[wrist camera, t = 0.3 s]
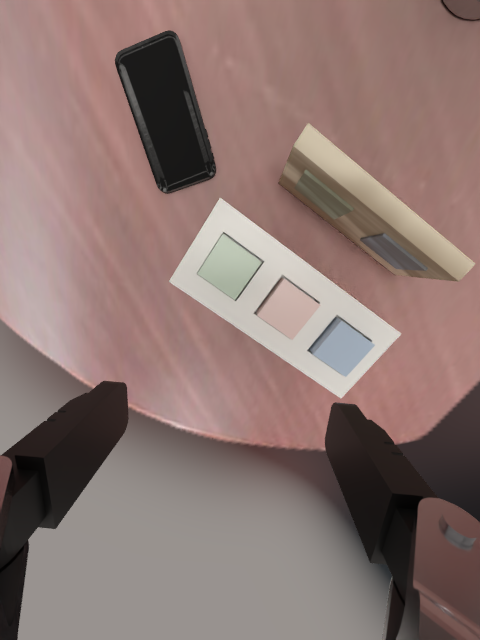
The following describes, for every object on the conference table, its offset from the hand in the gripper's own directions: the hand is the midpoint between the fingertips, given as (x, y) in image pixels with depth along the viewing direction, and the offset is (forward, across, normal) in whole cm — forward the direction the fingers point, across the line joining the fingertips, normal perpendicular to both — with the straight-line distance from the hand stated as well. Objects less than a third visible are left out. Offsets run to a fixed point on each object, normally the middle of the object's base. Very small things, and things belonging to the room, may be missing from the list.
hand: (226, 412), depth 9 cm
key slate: (+24, -14, +4) cm, 28 cm away
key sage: (+23, +2, -5) cm, 24 cm away
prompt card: (+25, -12, -11) cm, 30 cm away
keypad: (+25, -6, 0) cm, 26 cm away
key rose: (+24, -6, 0) cm, 24 cm away
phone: (+26, +11, -21) cm, 35 cm away
